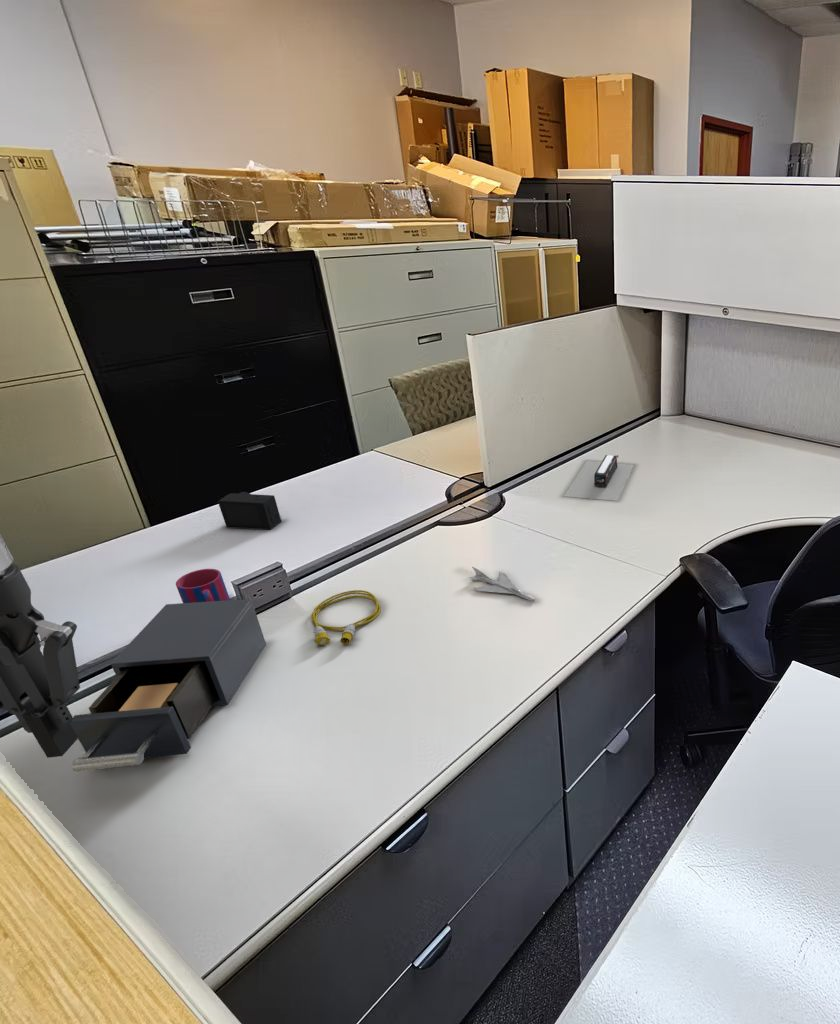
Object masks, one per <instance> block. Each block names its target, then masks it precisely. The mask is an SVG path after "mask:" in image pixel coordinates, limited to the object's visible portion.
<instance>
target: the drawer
mask: <svg viewBox="0 0 840 1024" xmlns="http://www.w3.org/2000/svg"><path fill="white" fill-rule="evenodd" d="M171 683H178V684H179V686H178V687H177V688H176V689H175V691H174V692H173V693H172V695H171V696H170V697H169V699H168V700H167V704H168V706H169V707H161V708H150V709H138V710H127V711H119V710H120V709H121V707H122V706H123V705H124V704H125V702H126V701H127V700H128V699H129V698H130V696H131V695H132V694H133V693H134V691H135V690H136V689H137V688H138V687H139V686H150V685H161V684H171ZM218 696H219V695H218V693H217V690H216V688H215V685H214V683H213V680H212V678H211V675H210V673H209V670H208V668H207V665H206V663H205V661H194V662H181V663H168V664H156V665H143V666H130V667H125V668H124V669H123V670H122V671H121V673H120V674H119V675H118V676H116V677H115V678H114V679H113V680H112V681H111V682H110V683H109V685H107V687H106V688H105V689H104V690H103V691H102V692H101V693H100V695H98V697H97V698H96V699H95V700H94V701H93V702H92V704H91V705H90V706H89V707H88V711H89V712H90V713H84V714H75V715H74V716H72V717H73V718H72V721H71V722H70V724H71V726H72V728H73V729H74V731H75V733H76V735H77V736H78V739H77V740H78V741H79V743H80V744H81V746H82V748H83V750H84V752H85V754H84V755H83V756H82V757H77V758H75V759H74V760H73V762H72V765H71V768H72V769H71V770H72V771H73V772H83V771H93V770H94V771H95V770H103V769H112V768H122V767H131V766H133V767H134V766H140V765H142V763H143V762H144V760H145V759H153V758H163V757H173V756H181V755H187V754H188V753H189V752H190V750H191V748H192V746H191V744H190V742H189V740H191V739H192V737H193V735H194V734H195V733H196V731H197V729H198V728H199V726H200V725H201V723H202V722H203V720H204V719H205V717H206V716H207V714H208V712H209V711H210V709H211V708H212V707H213V706H212V705H213V704H214V702H215V701H216V699H217V698H218Z"/></svg>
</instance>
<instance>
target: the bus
mask: <svg viewBox="0 0 840 1024" xmlns="http://www.w3.org/2000/svg"><path fill="white" fill-rule="evenodd" d="M618 458H619V455H615V454H605V456H604V457H603V459H602V461H593V460H592V461H591V460H587V461H586V462H585V463H584V465H583V466H582V468H581V469H580V471H579V472H578V474H577V476H576V477H575V478H574V480H573V482H572V483H571V485H570V486H569V488H568V489H567V492H565V494H564V497H569V498H578V499H579V498H581V499H591V500H602V501H603V500H604V501H615V502H618V501H619V498H620V497H621V495H622V492H623V490H624V487H625V485H626V483H627V481H628V479H629V477H630V474H631V472H632V471H633V468H634V466H635V465H634V464H628V463H618Z"/></svg>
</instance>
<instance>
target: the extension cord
mask: <svg viewBox="0 0 840 1024" xmlns="http://www.w3.org/2000/svg"><path fill="white" fill-rule="evenodd" d="M352 598H362V599H363V598H364V599H368V600H371V601H373V602H374V603H375V610H374V611H373V613H371V614H370V615H368V616H366V617H364V618H362V619H360V620H357V621H356V622H352V623H350V624H347V625H345V626H330V625H324V624H322V623H319V622H318V621H317V620H318V619H317V618H318V615H319V613H320V612H321V611H322V609H324V608H325V607H328V606H329V605H332V604H334V603H337V602H339V601H343V600H347V599H352ZM380 613H381V605H380V602H379V601H378V599H377V597H376V596H375V595H374V594H373V593H371V592H370V591H367V590H363V589H362V590H361V589H354V590H347V591H343V592H339V593H336V594H334V595H332V596H329V597H328V598H326V599H324V600H323V601H321V602H320V603H319V604H318V605H316V606H315V607H314V609H313V611H312V613H311V616H310V620H311V621H312V623H314V625H315V628H313V634H314V637H315V639H314V643H316V644H318V645H319V646H325V645H327V644H329V643H330V641H331V638H329V635H328V634H327V631H326V630H328V631H336V632H342V634H341V637H340V640H339V642H340V643H341V644H342V645H349V644H351V640H353V639H354V638H353V637H354V636H355V633H356V632H355V631H356V628H357V627H360V626H362V625H365V624H369V623H370V622H373V620H375V619H376V618H377V617H378V616H379V615H380Z"/></svg>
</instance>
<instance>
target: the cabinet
mask: <svg viewBox="0 0 840 1024" xmlns="http://www.w3.org/2000/svg"><path fill="white" fill-rule="evenodd" d="M266 646H267V642H266V640H265V636H264V632H263V630H262V627H261V624H260V621H259V619H258V615H257V613H256V609H255V606H254V603H253V600H252V598H245V599H230V600H227V601H211V602H195V603H183V602H182V603H181V602H180V603H167V604H165V605H164V606H163V607H162V608H161V609H160V610H159V611H158V612H157V614H155V615H154V616H153V618H152V619H150V621H149V622H148V623H147V624H146V625H145V626H144V627H143V628H142V629H141V630H140V632H139V633H137V635H136V636H135V637H134V638H133V639H132V640H131V641H130V642H129V643H128V644H127V646H125V648H124V649H123V650H122V651H121V652H120V653H119V654H118V655H117V656H116V657H115V658H114V659H113V660H112V661H111V662H110V667H111V669H112V670H113V672H114V673H115V676H116V677H117V676H118V675H119V674H120V673H121V671H122V670H123V669H124V668H125V667H130V666H143V665H156V664H168V663H181V662H194V661H205V663H206V665H207V668H208V670H209V673H210V675H211V678H212V680H213V683H214V685H215V688H216V690H217V693H218V695H219V696H218V698H217V699H216V701H215V702H214V704H213V705H212V707H218V706H227V705H229V703H230V702H231V700H232V699H233V697H234V696H235V694H236V693H237V691H238V690H239V688H240V686H241V684H242V683H243V682H244V680H245V678H246V677H247V675H248V674H249V672H250V670H251V669H252V668H253V666H254V664H255V663H256V661H257V659H258V658H259V656H260V655H261V653H262V651H263V650H264V648H265V647H266Z"/></svg>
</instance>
